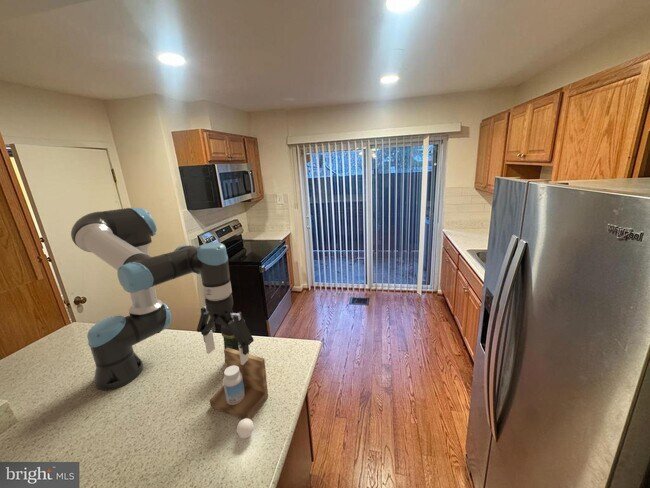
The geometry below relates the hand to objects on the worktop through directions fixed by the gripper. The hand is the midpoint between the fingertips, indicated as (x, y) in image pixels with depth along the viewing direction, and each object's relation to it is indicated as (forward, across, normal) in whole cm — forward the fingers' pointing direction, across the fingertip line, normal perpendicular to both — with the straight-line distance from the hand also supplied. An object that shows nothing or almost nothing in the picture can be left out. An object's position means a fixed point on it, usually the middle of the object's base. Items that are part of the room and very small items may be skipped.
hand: (227, 356), depth 82 cm
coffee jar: (+21, -15, +19) cm, 32 cm away
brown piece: (+20, 0, +2) cm, 21 cm away
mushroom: (+21, +10, -6) cm, 24 cm away
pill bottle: (+18, 0, +1) cm, 18 cm away
